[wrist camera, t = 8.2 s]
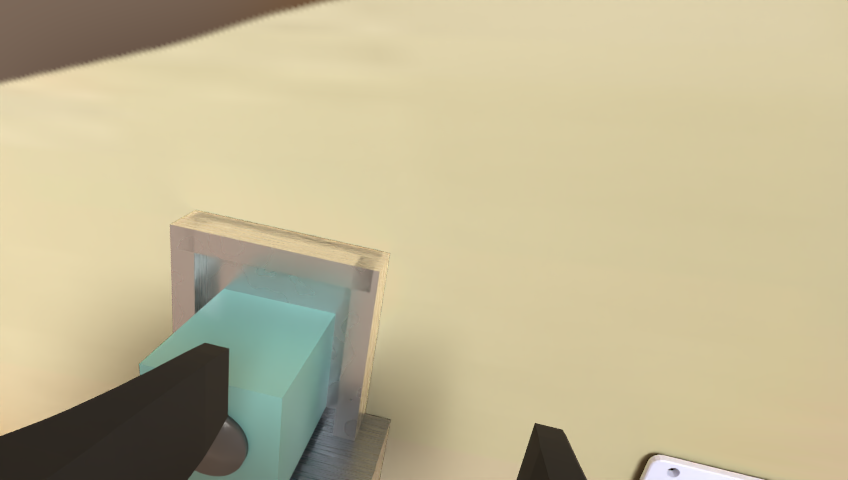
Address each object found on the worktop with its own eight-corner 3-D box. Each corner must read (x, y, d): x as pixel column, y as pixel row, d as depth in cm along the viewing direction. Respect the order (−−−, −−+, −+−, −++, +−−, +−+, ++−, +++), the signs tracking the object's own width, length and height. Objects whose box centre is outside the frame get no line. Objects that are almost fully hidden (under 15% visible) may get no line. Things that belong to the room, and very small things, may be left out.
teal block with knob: (325, 406, 24) (272, 514, 19) (223, 381, 24) (141, 480, 19) (335, 313, 22) (278, 404, 17) (223, 288, 22) (133, 369, 17)
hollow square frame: (419, 259, 21) (386, 341, 16) (372, 522, 27) (335, 648, 22) (141, 197, 22) (17, 254, 17) (155, 464, 28) (67, 571, 23)
